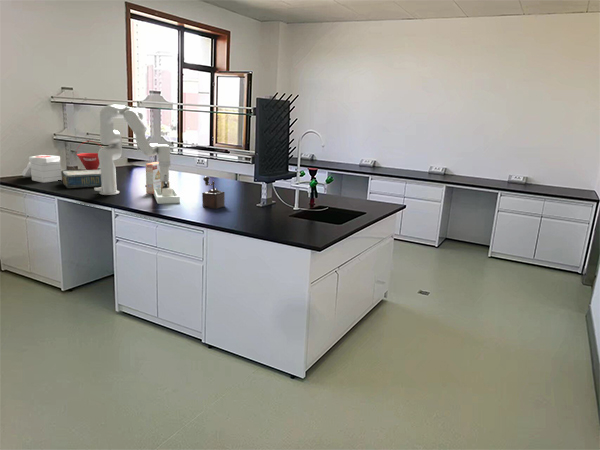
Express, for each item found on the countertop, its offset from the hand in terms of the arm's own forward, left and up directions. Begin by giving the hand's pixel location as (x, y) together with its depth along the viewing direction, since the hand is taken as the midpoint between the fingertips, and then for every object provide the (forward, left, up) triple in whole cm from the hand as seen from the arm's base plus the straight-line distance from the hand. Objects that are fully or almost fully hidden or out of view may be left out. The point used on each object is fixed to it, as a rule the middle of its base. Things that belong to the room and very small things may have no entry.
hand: (165, 190), depth 308 cm
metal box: (-49, +58, -6) cm, 76 cm away
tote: (0, -5, -5) cm, 7 cm away
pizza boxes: (-83, +85, -5) cm, 119 cm away
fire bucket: (-48, +86, -5) cm, 99 cm away
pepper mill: (+25, -28, -5) cm, 38 cm away
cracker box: (-5, +22, -5) cm, 23 cm away
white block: (0, -13, -4) cm, 14 cm away
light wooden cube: (0, 0, -2) cm, 2 cm away
